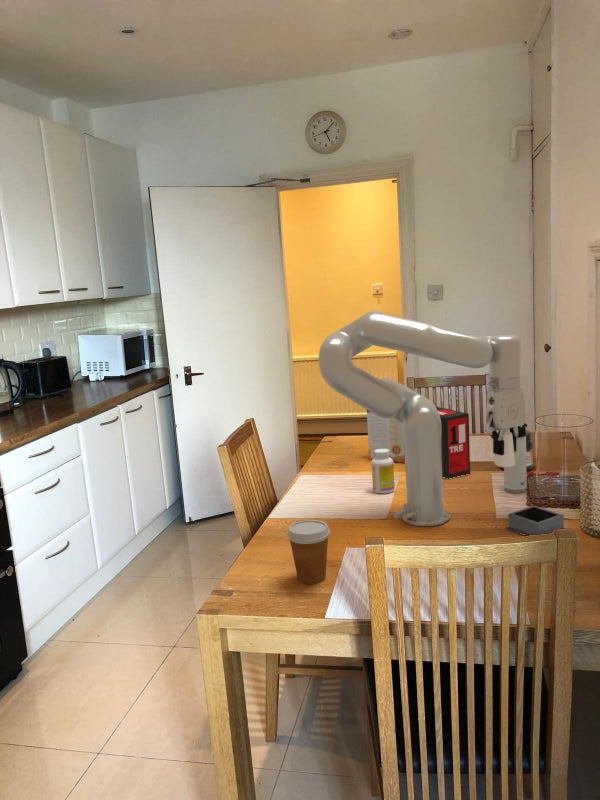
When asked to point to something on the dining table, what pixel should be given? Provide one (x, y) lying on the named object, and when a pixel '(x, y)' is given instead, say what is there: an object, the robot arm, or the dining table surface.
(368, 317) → the robot arm
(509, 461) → the pepper shaker
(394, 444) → the cracker box
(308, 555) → the disposable coffee cup
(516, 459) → the travel mug
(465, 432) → the cleaning product box
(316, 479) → the dining table surface
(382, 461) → the supplement bottle
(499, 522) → the dining table surface
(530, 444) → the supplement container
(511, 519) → the grey square tray
